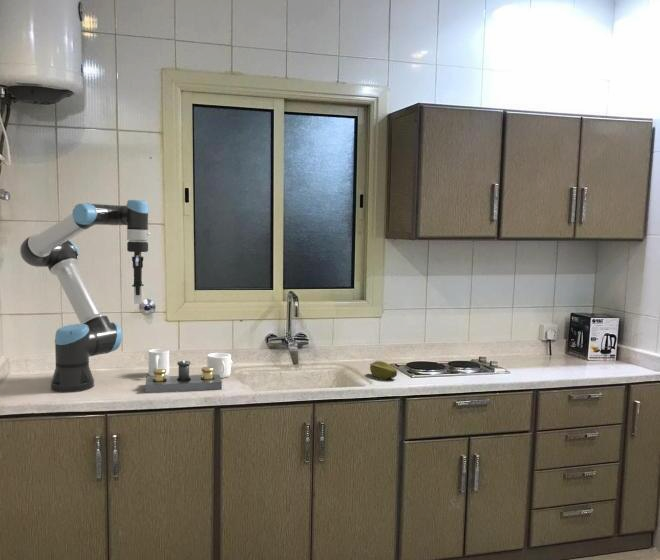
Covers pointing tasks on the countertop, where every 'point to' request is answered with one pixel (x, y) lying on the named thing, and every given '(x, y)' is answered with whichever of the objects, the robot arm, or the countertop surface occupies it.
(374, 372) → the fruit
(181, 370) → the knob mid
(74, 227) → the robot arm
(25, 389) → the countertop surface
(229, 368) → the mug
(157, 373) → the knob near
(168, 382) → the mount plate
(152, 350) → the mug
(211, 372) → the knob far
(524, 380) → the countertop surface
